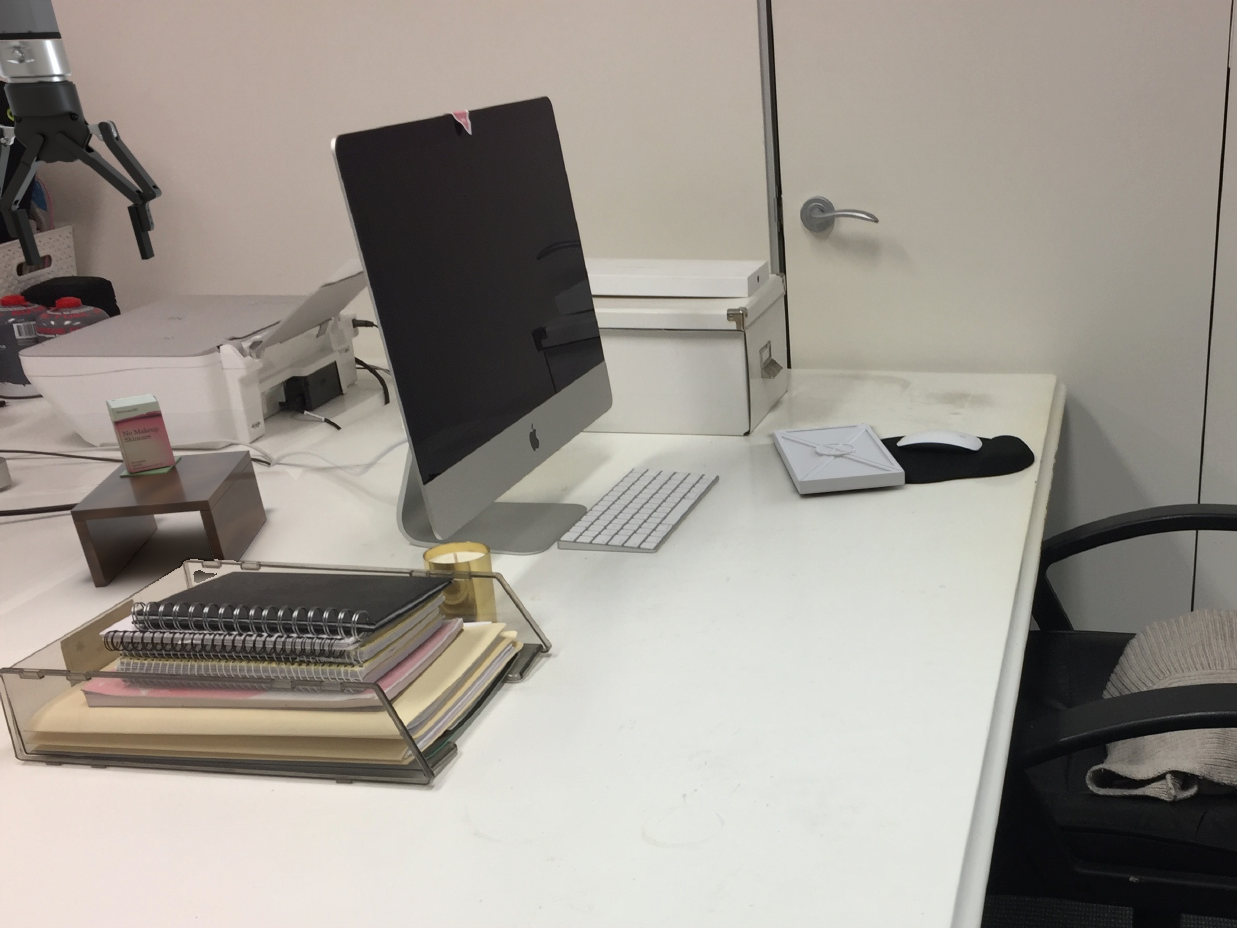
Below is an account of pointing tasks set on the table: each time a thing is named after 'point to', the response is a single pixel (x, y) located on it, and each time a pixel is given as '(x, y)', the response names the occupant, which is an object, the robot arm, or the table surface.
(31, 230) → the robot arm
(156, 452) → the small box
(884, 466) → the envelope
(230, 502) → the shelf
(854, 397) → the table surface
